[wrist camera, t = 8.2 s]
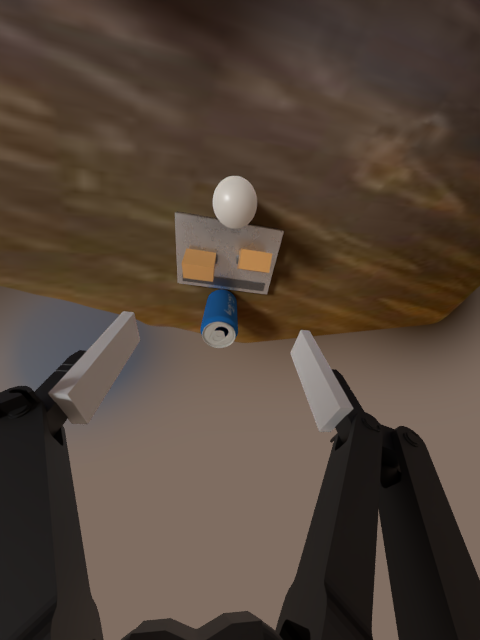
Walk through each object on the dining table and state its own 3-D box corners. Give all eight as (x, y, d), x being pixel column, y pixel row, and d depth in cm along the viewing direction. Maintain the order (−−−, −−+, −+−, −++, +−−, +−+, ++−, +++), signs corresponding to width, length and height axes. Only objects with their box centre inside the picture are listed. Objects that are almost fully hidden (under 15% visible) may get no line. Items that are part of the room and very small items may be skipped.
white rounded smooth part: (219, 176, 27) (207, 160, 14) (252, 183, 28) (270, 173, 15) (216, 215, 30) (204, 230, 17) (246, 220, 31) (257, 239, 18)
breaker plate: (177, 211, 30) (174, 212, 28) (281, 229, 32) (284, 231, 30) (180, 279, 37) (177, 283, 35) (265, 290, 39) (267, 295, 37)
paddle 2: (237, 251, 32) (239, 248, 28) (267, 256, 33) (274, 253, 29) (235, 268, 33) (237, 268, 29) (264, 272, 34) (270, 273, 29)
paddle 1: (185, 245, 30) (179, 263, 28) (218, 250, 31) (215, 268, 28) (186, 260, 33) (181, 277, 30) (217, 265, 34) (214, 282, 31)
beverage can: (242, 299, 40) (245, 333, 30) (225, 318, 43) (223, 354, 33) (218, 282, 37) (213, 313, 27) (201, 303, 40) (192, 338, 30)
